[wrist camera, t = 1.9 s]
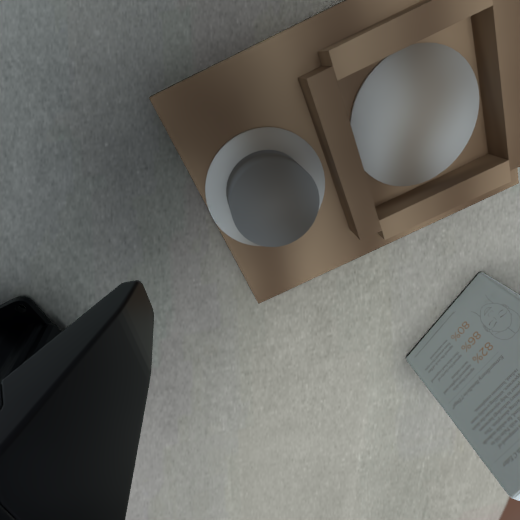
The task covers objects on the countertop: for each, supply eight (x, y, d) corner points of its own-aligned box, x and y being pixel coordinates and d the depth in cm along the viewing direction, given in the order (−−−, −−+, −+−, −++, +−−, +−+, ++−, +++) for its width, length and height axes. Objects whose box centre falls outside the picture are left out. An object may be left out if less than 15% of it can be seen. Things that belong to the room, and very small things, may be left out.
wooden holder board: (255, 294, 24) (266, 329, 20) (150, 96, 18) (143, 103, 15) (505, 178, 23) (555, 196, 20) (478, -66, 17) (543, -94, 14)
